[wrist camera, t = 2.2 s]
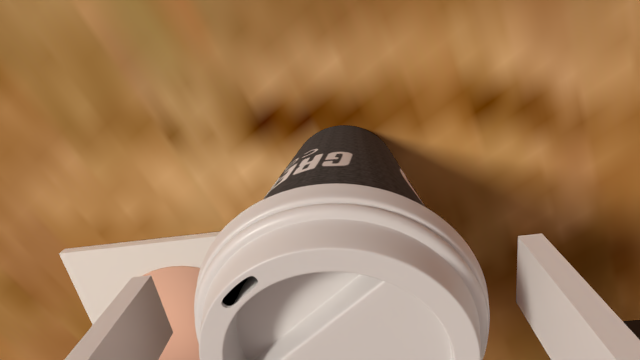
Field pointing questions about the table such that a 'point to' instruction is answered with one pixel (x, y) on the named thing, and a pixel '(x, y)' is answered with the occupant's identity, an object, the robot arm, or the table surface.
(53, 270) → the table surface
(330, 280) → the coffee cup
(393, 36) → the table surface
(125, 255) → the coaster mat
